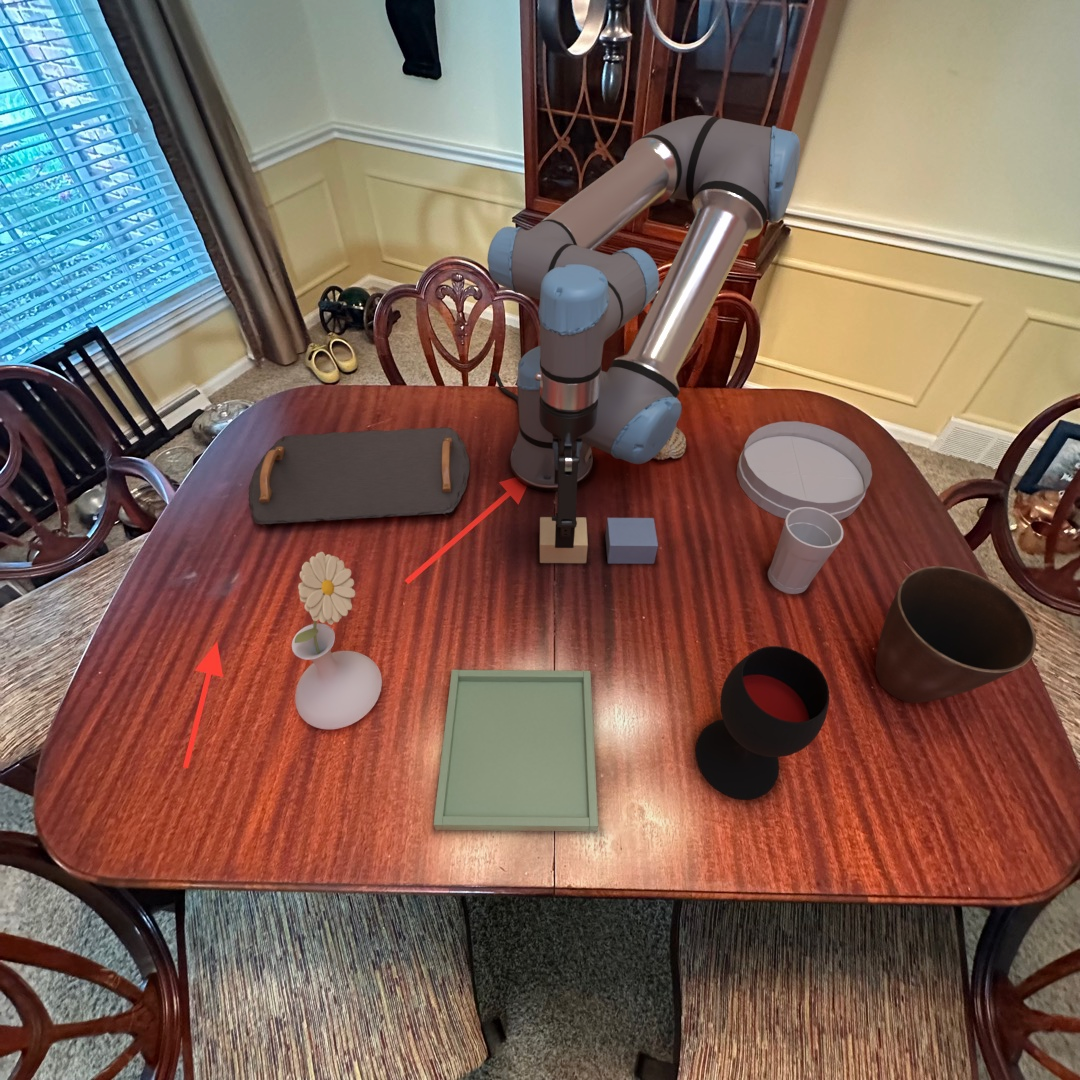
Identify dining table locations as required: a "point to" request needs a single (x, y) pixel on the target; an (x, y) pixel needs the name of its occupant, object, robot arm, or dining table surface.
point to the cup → (803, 548)
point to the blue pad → (631, 541)
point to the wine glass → (762, 721)
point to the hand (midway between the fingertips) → (563, 512)
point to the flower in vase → (333, 678)
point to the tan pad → (562, 554)
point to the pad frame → (518, 752)
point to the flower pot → (950, 635)
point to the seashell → (673, 446)
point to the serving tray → (359, 476)
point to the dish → (803, 469)
